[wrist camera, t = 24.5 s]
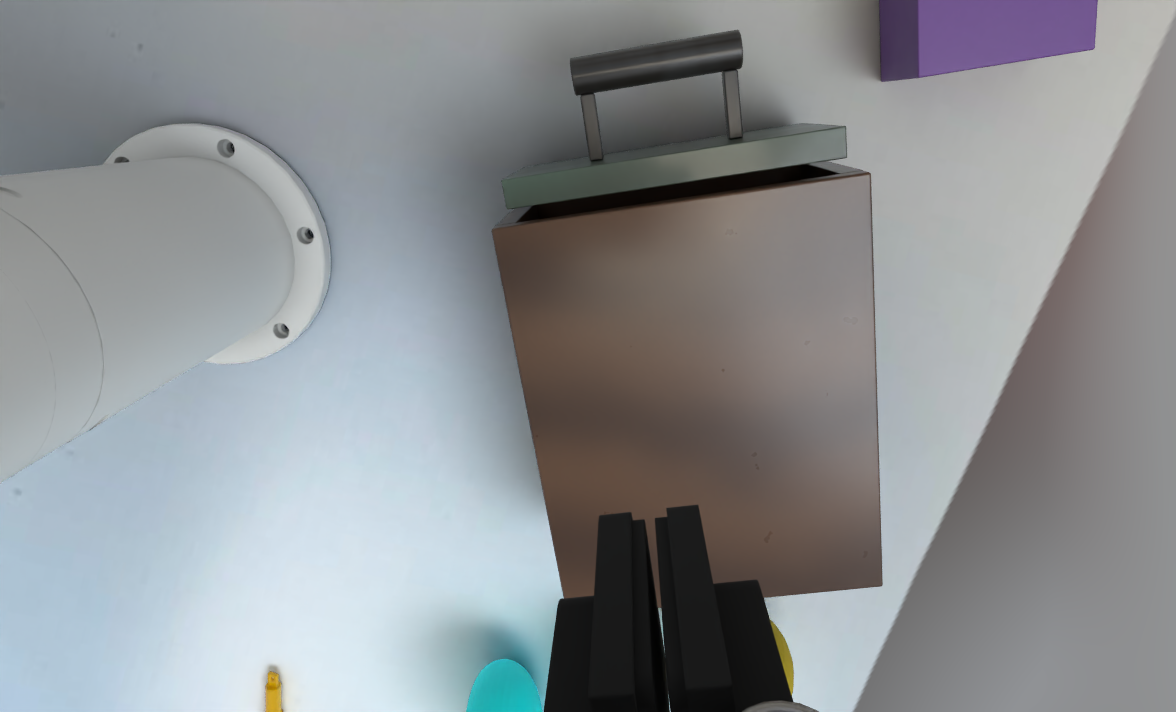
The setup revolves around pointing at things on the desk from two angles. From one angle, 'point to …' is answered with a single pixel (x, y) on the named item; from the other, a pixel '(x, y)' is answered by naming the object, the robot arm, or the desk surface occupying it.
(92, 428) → the robot arm
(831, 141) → the drawer
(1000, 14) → the purple block
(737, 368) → the desk cabinet
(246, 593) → the desk surface
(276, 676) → the purple and yellow tool
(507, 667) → the donuts
